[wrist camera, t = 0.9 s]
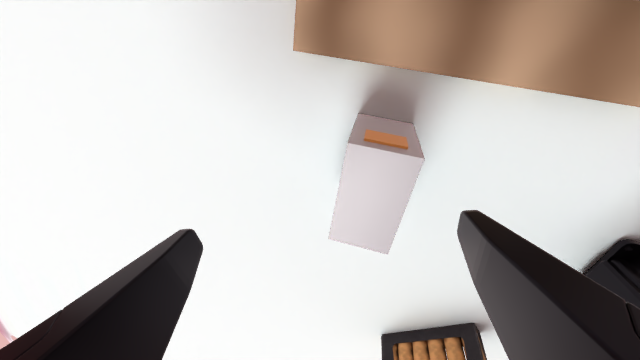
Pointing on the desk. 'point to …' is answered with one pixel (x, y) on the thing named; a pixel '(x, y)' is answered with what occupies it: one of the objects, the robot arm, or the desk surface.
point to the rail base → (487, 41)
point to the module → (375, 182)
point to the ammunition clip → (434, 344)
